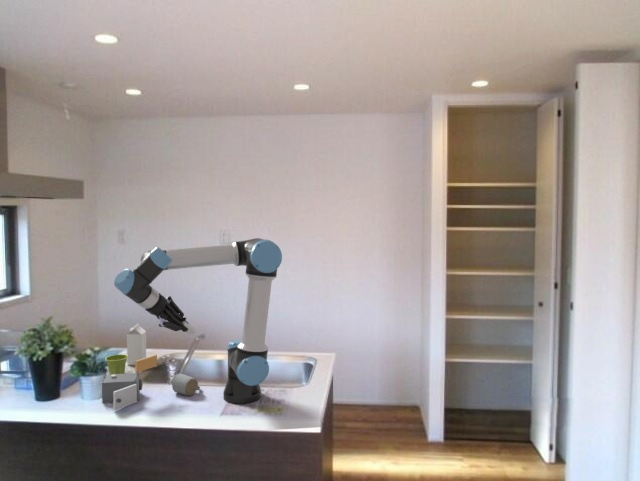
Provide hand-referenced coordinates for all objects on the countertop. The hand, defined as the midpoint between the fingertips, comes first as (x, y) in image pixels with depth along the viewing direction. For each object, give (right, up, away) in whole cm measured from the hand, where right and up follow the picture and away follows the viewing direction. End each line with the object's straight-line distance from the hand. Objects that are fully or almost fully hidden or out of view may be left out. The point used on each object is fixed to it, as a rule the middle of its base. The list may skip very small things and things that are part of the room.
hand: (192, 331), depth 195 cm
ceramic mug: (-5, -28, +12) cm, 31 cm away
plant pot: (-42, -26, +32) cm, 59 cm away
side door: (-22, -28, +2) cm, 35 cm away
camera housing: (-30, -27, +6) cm, 41 cm away
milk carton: (-40, -25, +51) cm, 70 cm away
